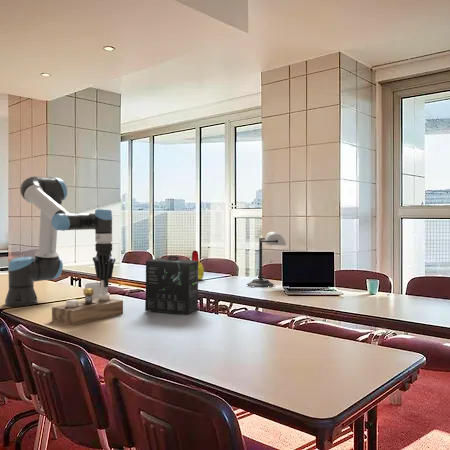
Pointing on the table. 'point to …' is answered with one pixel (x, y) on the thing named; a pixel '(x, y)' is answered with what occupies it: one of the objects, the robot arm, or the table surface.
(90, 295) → the pot knob
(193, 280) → the headset box
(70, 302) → the knob near
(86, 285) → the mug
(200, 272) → the bottle
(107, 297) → the knob far
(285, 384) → the table surface
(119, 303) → the mount
